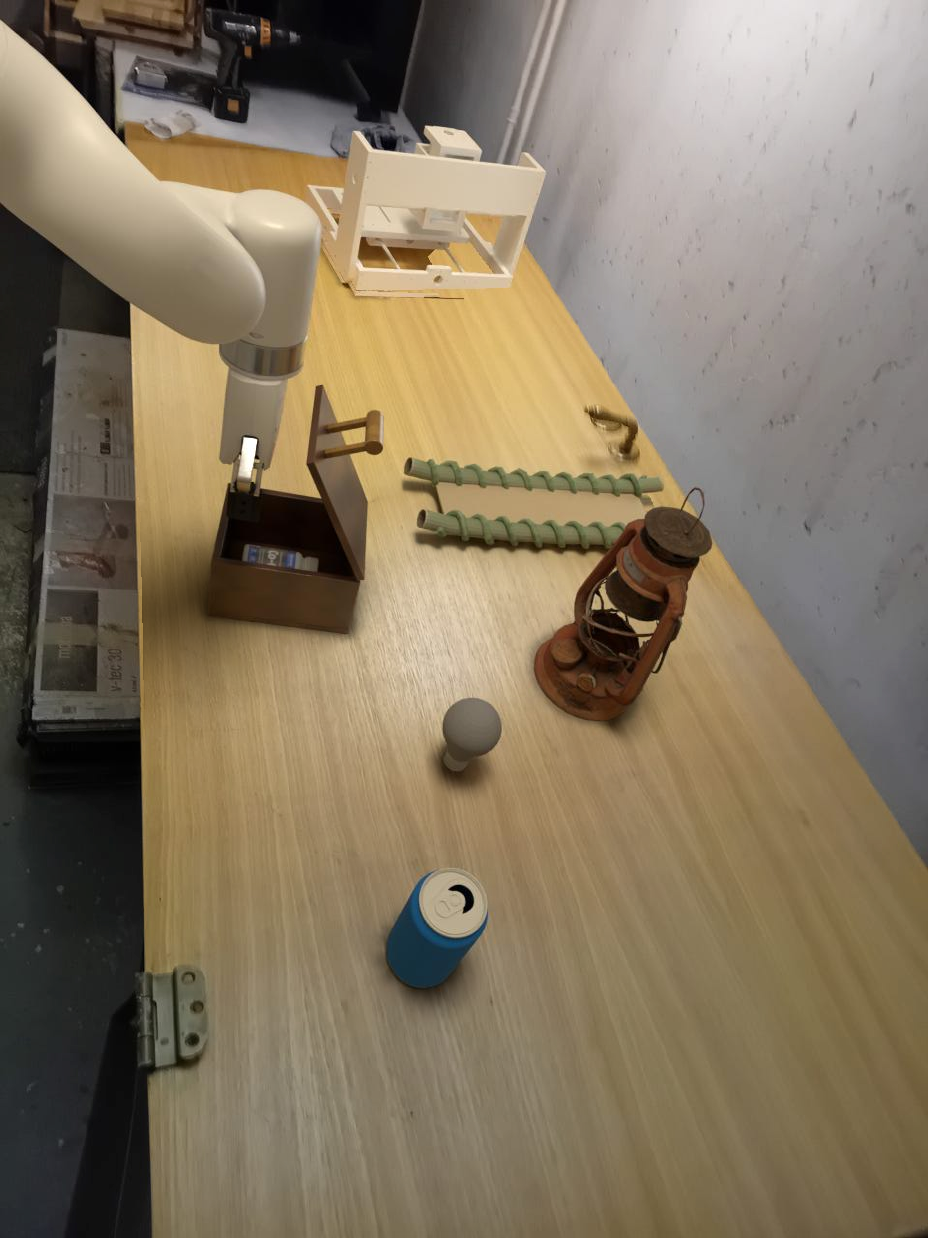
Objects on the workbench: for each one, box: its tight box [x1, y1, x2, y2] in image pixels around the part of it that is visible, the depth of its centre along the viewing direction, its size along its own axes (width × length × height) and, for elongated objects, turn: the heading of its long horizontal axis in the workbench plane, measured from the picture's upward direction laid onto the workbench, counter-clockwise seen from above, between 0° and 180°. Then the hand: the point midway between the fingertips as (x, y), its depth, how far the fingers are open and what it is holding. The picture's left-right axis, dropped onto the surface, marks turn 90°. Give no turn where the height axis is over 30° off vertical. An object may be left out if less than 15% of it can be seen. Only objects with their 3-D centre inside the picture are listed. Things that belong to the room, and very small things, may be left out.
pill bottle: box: [242, 544, 318, 572], centre depth 94 cm, size 5×5×8 cm
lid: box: [305, 384, 385, 582], centre depth 86 cm, size 16×13×7 cm
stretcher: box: [403, 456, 665, 550], centre depth 116 cm, size 41×14×5 cm, turn 102°
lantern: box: [533, 486, 713, 722], centre depth 89 cm, size 17×13×30 cm
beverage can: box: [385, 867, 489, 989], centre depth 69 cm, size 6×6×12 cm
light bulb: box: [441, 697, 503, 772], centre depth 84 cm, size 6×6×10 cm
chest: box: [207, 482, 361, 635], centre depth 94 cm, size 16×13×9 cm
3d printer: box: [304, 125, 547, 299], centre depth 151 cm, size 35×32×25 cm
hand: (248, 486), depth 85 cm, fingers open, 9 cm apart
